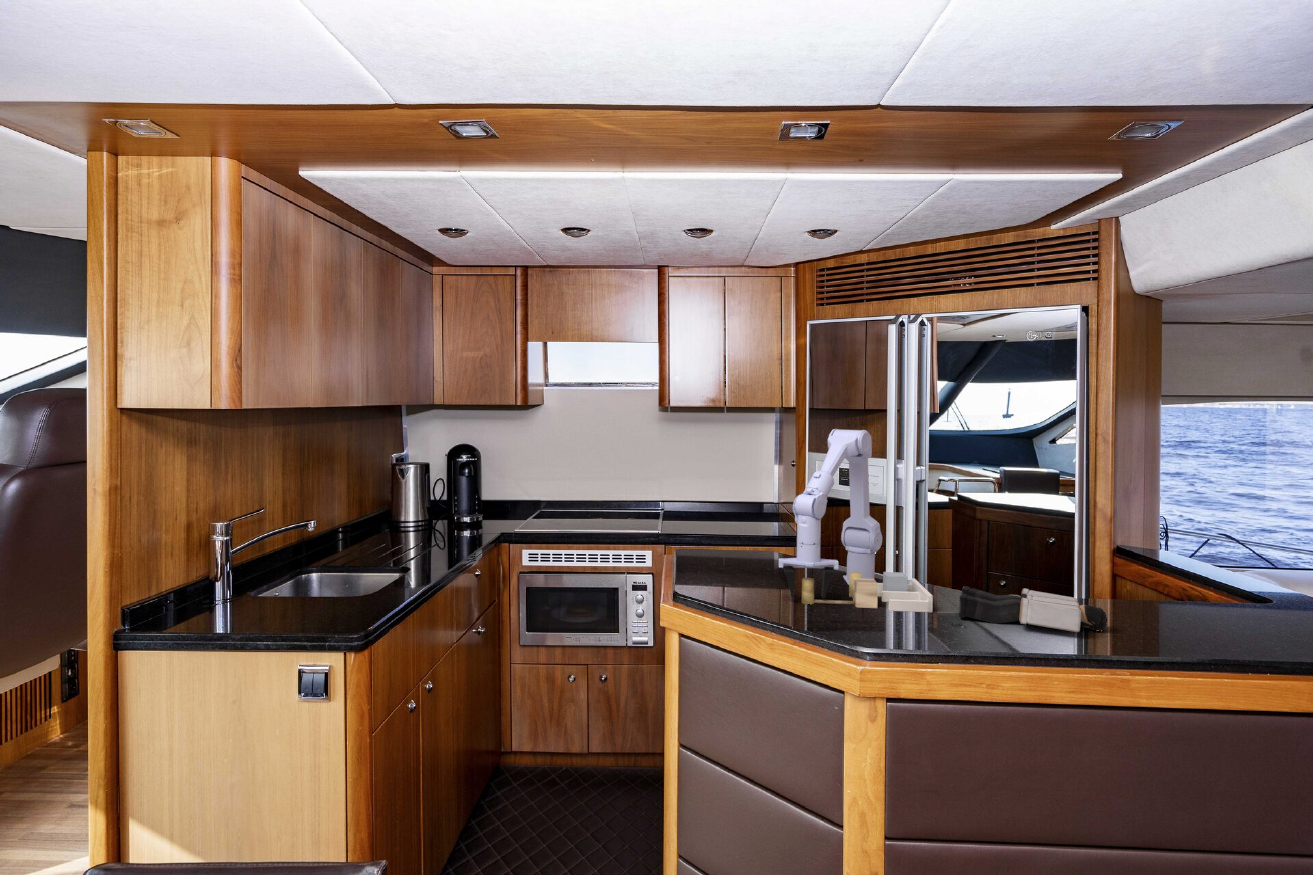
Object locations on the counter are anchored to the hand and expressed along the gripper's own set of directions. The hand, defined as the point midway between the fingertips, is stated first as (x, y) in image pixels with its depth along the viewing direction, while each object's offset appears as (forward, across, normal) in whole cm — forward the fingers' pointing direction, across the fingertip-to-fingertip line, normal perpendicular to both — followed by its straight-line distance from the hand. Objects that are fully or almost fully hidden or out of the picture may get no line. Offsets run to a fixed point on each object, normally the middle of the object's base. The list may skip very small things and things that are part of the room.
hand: (807, 596), depth 182 cm
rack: (+2, +24, +4) cm, 24 cm away
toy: (+2, +50, -10) cm, 51 cm away
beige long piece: (+2, +8, 0) cm, 8 cm away
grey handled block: (+2, +18, +8) cm, 20 cm away
